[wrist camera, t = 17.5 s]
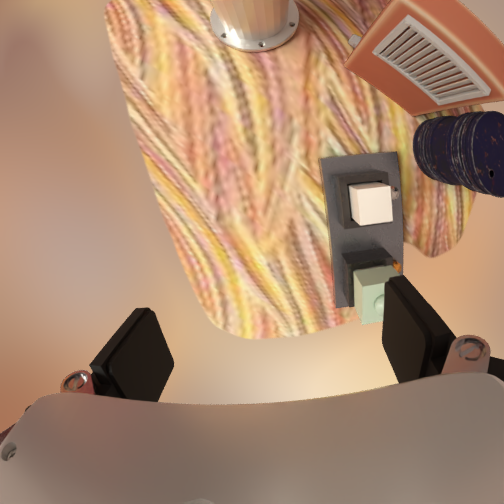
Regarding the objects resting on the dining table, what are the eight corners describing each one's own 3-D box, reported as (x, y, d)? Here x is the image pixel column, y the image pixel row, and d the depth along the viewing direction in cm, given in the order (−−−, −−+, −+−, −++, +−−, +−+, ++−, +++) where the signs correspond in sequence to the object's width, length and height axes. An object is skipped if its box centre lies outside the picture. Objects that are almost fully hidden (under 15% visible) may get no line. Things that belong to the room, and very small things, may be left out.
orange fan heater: (353, 34, 30) (434, 94, 31) (331, 66, 32) (416, 127, 33) (405, -44, 9) (529, 69, 11) (378, -8, 12) (516, 118, 13)
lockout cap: (353, 271, 34) (364, 291, 29) (391, 265, 33) (407, 283, 28) (354, 306, 36) (364, 330, 30) (390, 300, 35) (404, 322, 30)
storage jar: (429, 104, 32) (489, 91, 18) (470, 146, 33) (532, 152, 19) (400, 154, 35) (457, 158, 21) (443, 194, 36) (504, 216, 22)
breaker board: (318, 158, 37) (325, 159, 31) (391, 151, 35) (408, 152, 29) (333, 301, 43) (340, 322, 38) (397, 290, 42) (411, 309, 36)
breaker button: (346, 184, 33) (356, 189, 29) (376, 181, 33) (390, 185, 28) (349, 215, 34) (360, 225, 30) (378, 212, 34) (392, 221, 29)
